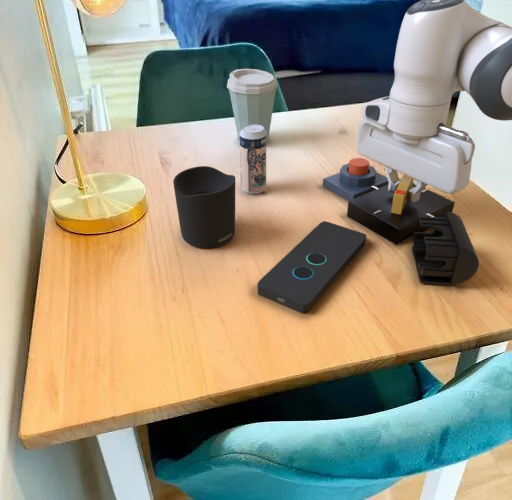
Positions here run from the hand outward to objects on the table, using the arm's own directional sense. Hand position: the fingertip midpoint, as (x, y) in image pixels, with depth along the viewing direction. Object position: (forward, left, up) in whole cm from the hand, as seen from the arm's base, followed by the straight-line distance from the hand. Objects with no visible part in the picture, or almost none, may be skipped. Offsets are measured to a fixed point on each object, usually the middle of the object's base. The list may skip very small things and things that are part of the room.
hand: (402, 195), depth 85 cm
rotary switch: (0, 0, -4) cm, 4 cm away
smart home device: (+21, +2, -4) cm, 22 cm away
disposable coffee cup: (+1, -41, -4) cm, 41 cm away
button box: (-2, -12, -4) cm, 12 cm away
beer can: (+14, -23, -4) cm, 27 cm away
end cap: (+7, +13, -4) cm, 15 cm away
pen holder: (+29, -15, -4) cm, 33 cm away
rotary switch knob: (0, 0, -1) cm, 1 cm away
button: (-2, -12, -1) cm, 12 cm away
